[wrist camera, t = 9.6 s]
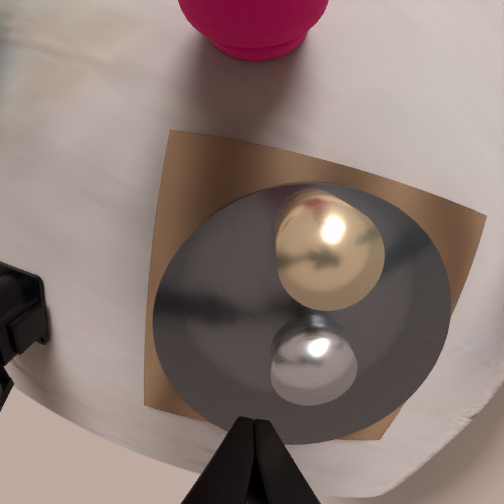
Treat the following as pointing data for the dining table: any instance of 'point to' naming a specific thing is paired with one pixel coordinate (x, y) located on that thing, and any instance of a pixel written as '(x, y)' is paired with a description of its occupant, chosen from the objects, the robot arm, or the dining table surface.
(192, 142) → the wheel mount
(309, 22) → the pepper mill
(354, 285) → the handwheel
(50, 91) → the dining table surface
